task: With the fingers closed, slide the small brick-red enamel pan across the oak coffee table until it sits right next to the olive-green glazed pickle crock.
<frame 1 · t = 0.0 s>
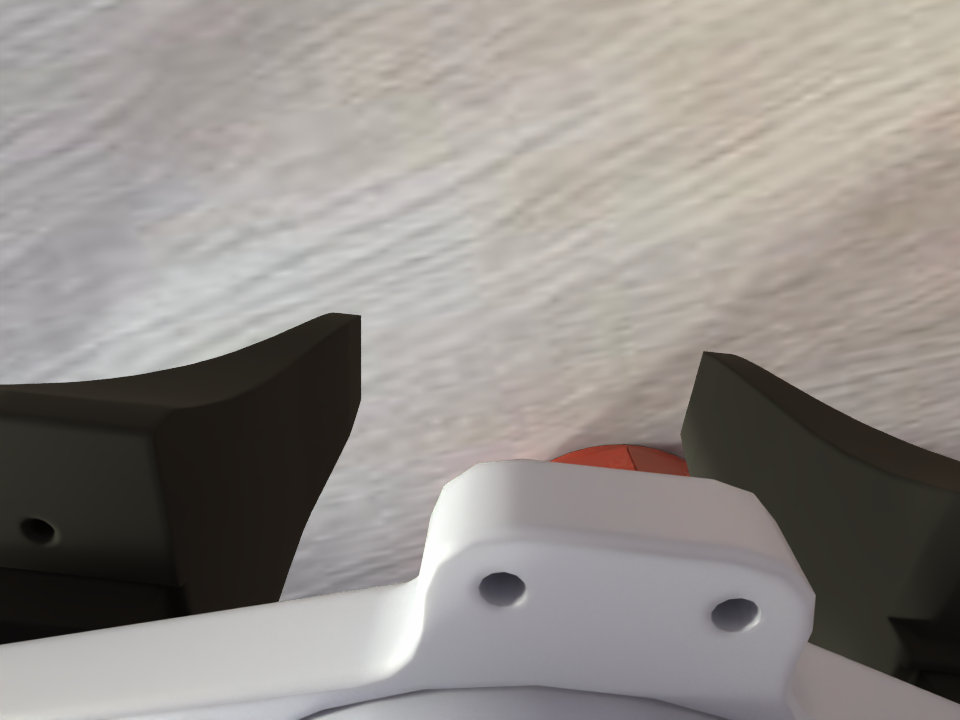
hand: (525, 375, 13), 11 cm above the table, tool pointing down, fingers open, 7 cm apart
pan: (613, 561, 26), on the table
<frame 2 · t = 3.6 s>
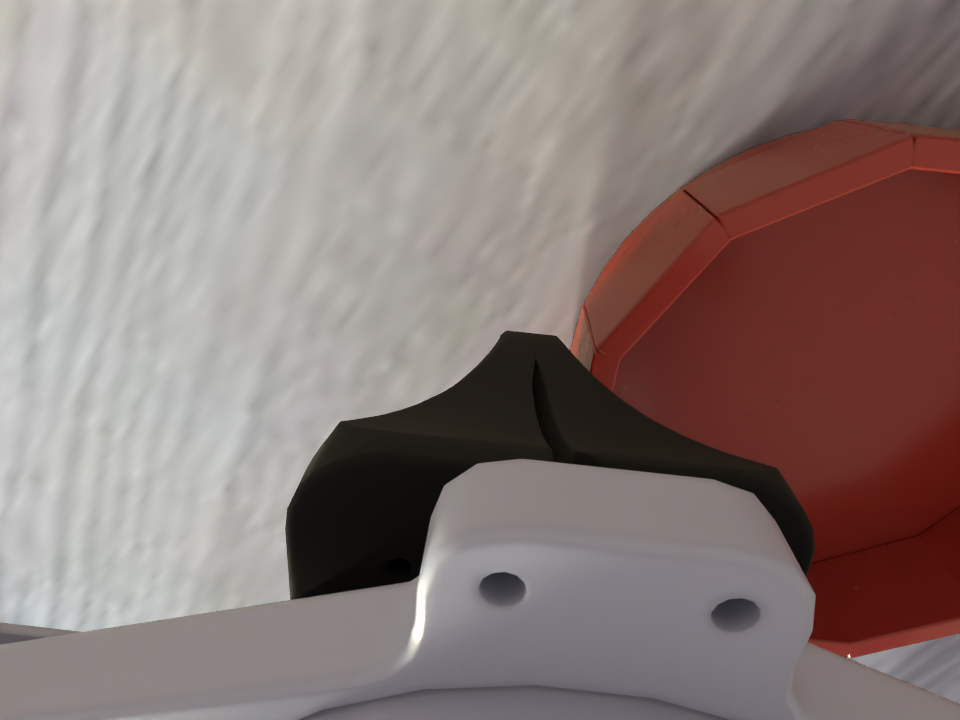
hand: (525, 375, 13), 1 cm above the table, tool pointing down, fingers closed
pan: (808, 377, 14), on the table, touching gripper
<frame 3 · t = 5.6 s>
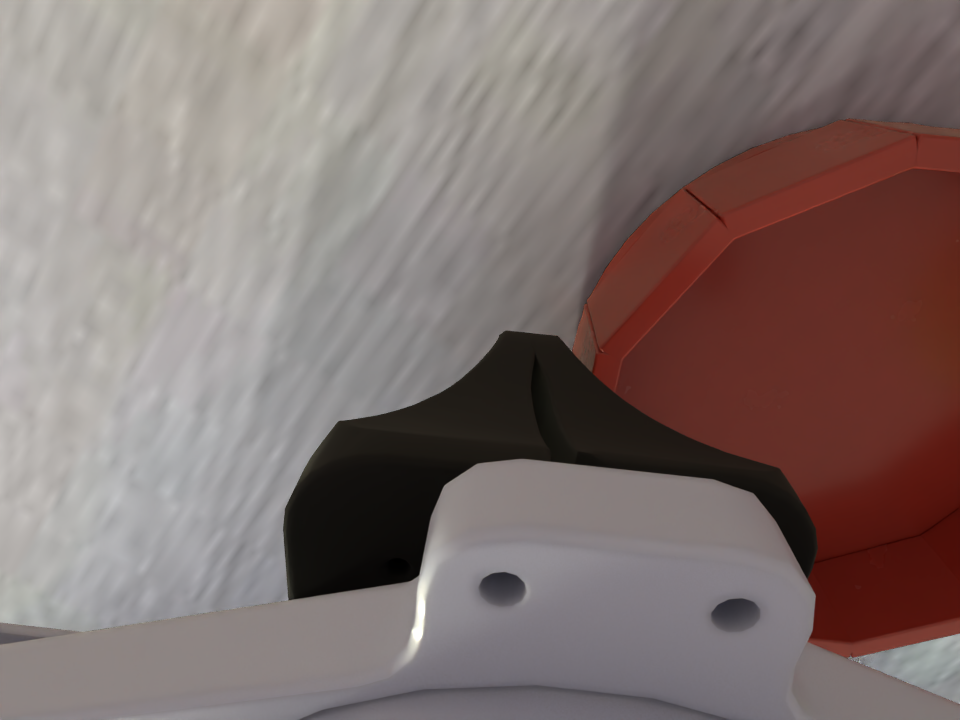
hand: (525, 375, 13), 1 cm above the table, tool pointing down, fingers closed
pan: (810, 376, 14), on the table, touching gripper
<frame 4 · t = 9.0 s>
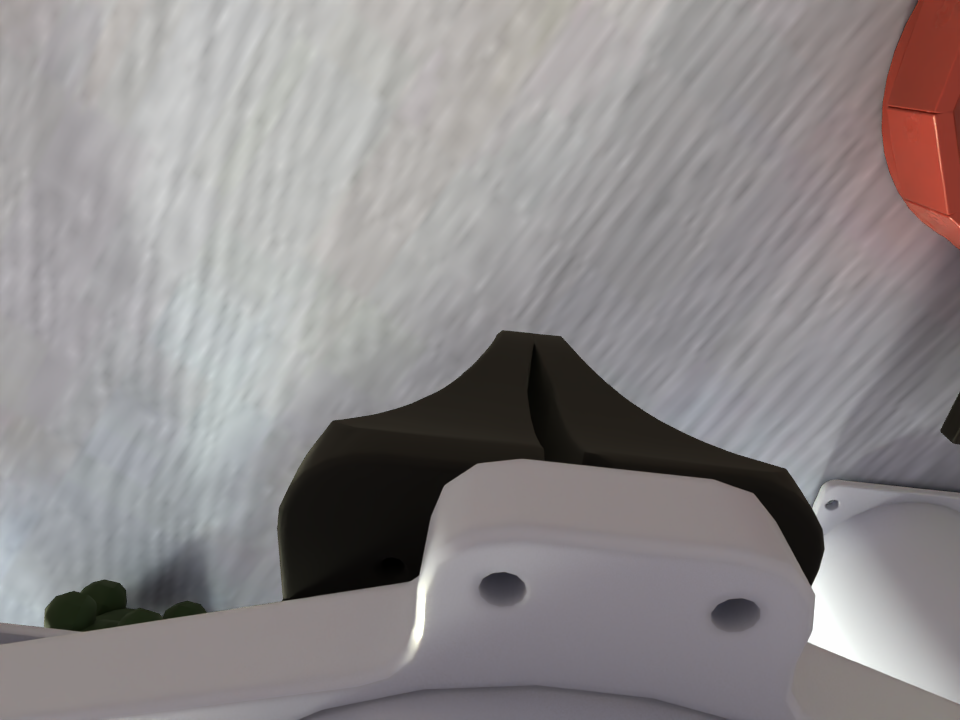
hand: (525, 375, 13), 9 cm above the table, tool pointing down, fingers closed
toy figurine: (156, 679, 34), on the table
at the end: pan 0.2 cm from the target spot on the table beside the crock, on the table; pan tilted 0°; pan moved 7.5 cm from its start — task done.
